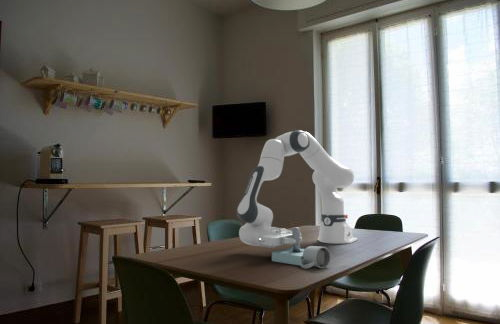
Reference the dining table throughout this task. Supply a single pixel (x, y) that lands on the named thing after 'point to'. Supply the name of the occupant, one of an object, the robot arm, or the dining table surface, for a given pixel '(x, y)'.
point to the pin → (296, 236)
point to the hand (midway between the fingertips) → (298, 240)
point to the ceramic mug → (315, 257)
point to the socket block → (288, 256)
